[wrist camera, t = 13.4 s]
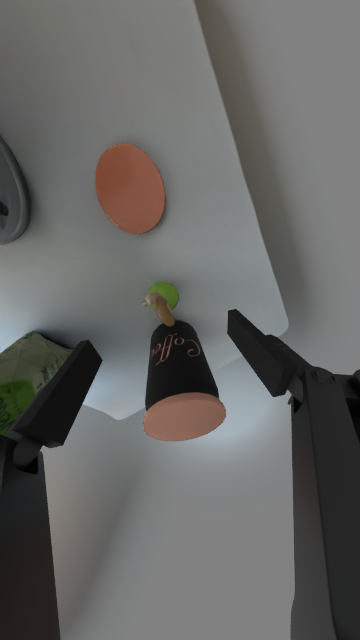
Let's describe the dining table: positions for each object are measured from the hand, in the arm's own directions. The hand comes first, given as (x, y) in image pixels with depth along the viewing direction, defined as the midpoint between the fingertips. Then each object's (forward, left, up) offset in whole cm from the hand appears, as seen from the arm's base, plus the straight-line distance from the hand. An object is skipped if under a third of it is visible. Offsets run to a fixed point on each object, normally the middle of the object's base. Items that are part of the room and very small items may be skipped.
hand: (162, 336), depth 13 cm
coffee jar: (+12, 0, -16) cm, 20 cm away
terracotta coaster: (-14, -1, -15) cm, 21 cm away
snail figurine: (0, 0, -16) cm, 16 cm away
